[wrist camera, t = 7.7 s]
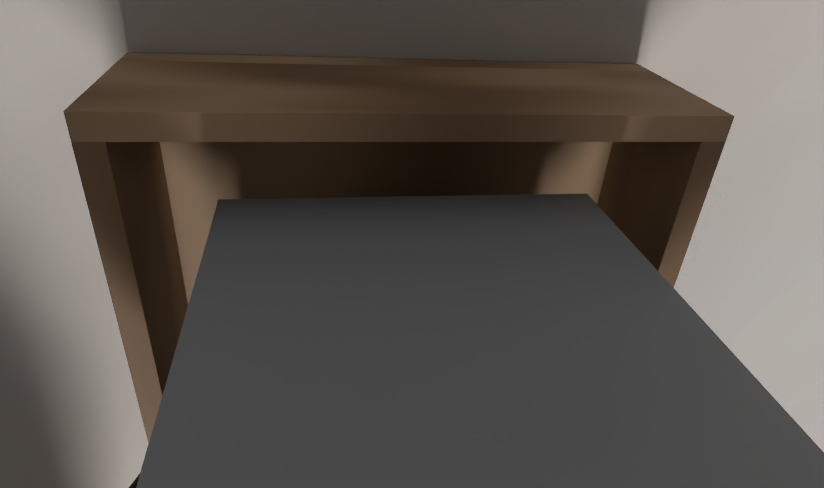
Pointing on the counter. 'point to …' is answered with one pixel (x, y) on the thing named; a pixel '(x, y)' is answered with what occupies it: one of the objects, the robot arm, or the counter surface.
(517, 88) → the walnut crate
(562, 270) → the grey plastic crate
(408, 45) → the counter surface
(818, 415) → the counter surface
